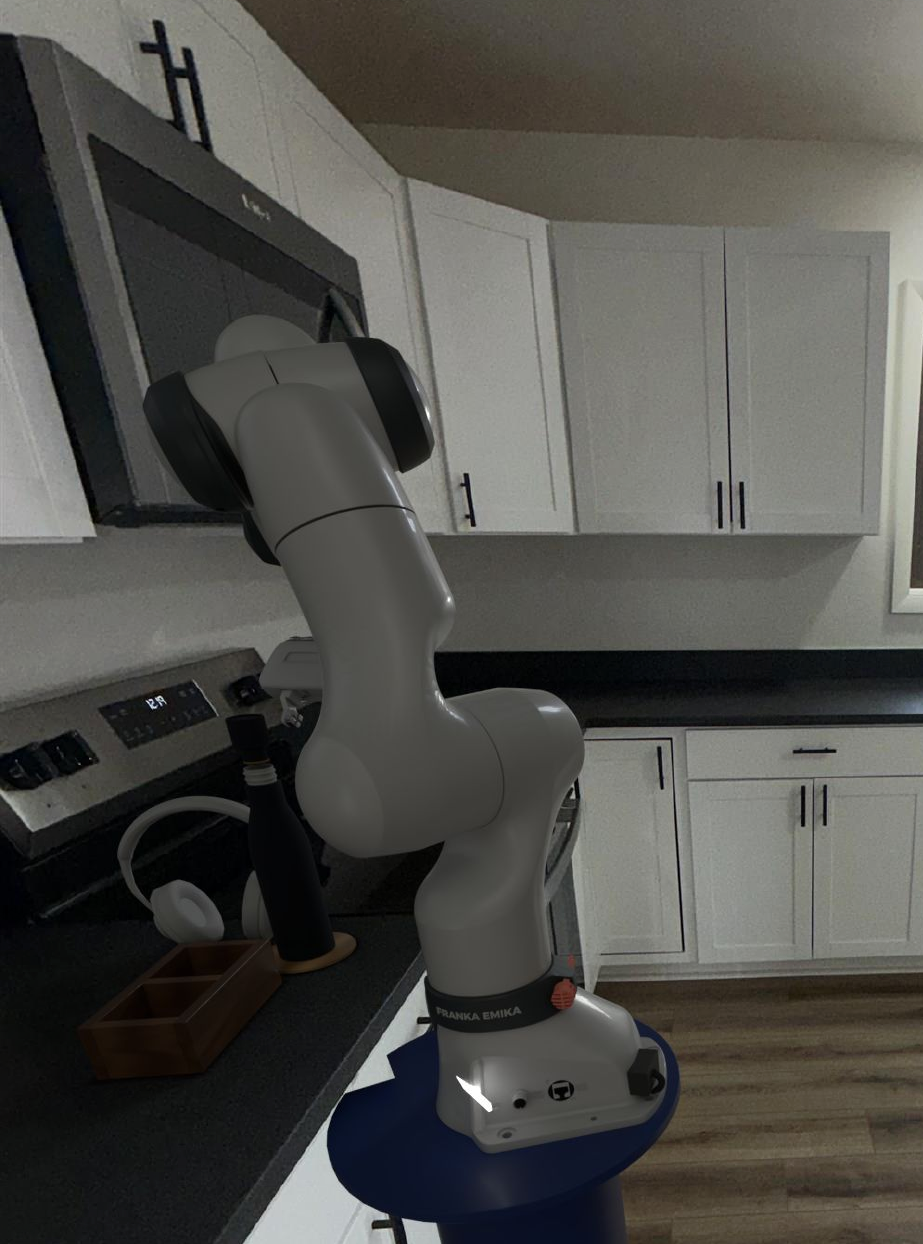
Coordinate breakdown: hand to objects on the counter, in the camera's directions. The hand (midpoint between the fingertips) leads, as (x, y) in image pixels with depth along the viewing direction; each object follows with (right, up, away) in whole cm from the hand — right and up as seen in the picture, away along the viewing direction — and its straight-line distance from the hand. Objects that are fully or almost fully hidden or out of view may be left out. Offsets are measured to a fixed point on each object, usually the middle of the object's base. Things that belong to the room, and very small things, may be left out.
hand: (322, 726), depth 110 cm
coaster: (-2, -29, 0) cm, 29 cm away
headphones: (-13, -28, +2) cm, 31 cm away
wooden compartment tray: (-5, -37, -16) cm, 40 cm away
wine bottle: (-2, -29, 0) cm, 29 cm away
